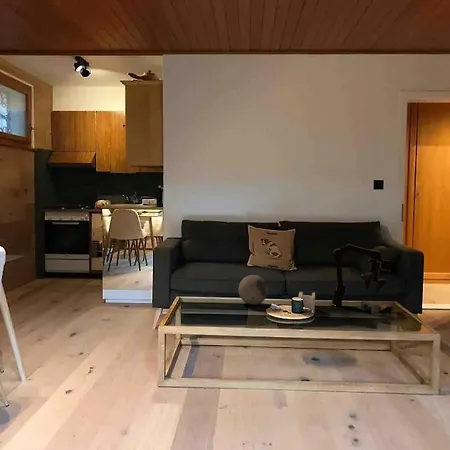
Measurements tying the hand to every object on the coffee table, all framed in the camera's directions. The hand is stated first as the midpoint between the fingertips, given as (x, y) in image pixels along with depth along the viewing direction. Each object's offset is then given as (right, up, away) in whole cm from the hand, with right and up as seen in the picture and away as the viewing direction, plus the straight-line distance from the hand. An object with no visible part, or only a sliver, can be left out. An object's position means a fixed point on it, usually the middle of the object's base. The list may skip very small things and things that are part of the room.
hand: (372, 291), depth 360 cm
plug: (+5, -13, -1) cm, 14 cm away
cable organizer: (-47, -12, -13) cm, 50 cm away
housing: (-4, -13, -6) cm, 15 cm away
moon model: (-81, -9, -2) cm, 82 cm away
